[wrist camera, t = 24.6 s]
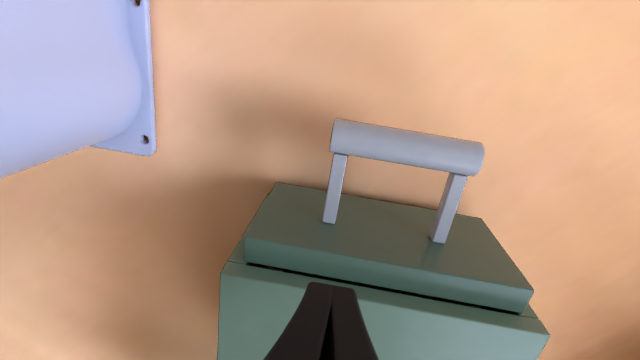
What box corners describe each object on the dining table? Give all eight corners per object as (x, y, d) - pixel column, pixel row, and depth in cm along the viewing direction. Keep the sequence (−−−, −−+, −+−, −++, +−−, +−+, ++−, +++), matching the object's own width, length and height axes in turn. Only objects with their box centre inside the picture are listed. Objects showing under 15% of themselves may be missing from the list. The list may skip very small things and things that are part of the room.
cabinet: (268, 192, 20) (219, 273, 13) (479, 230, 19) (551, 335, 12) (253, 353, 25) (212, 473, 18) (418, 385, 24) (444, 523, 17)
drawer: (285, 96, 16) (251, 119, 11) (513, 134, 16) (593, 177, 11) (260, 342, 23) (231, 432, 18) (420, 374, 23) (441, 475, 17)
